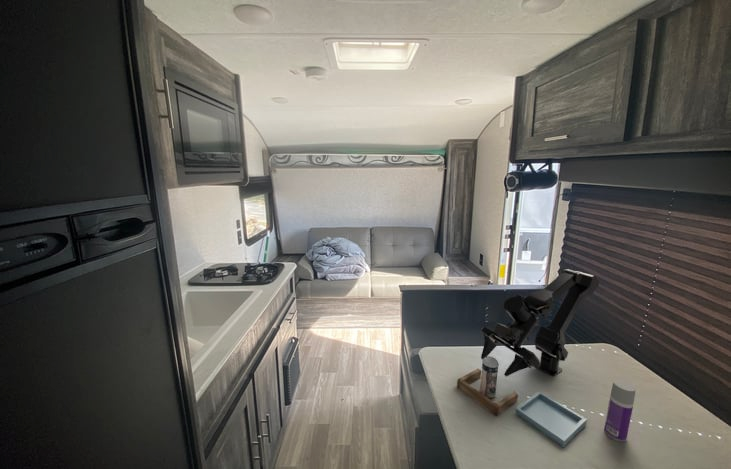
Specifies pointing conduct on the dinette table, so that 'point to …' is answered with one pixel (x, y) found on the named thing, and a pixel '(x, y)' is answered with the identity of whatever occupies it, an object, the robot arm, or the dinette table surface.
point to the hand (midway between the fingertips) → (492, 366)
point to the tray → (551, 418)
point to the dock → (482, 399)
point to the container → (619, 410)
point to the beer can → (489, 376)
